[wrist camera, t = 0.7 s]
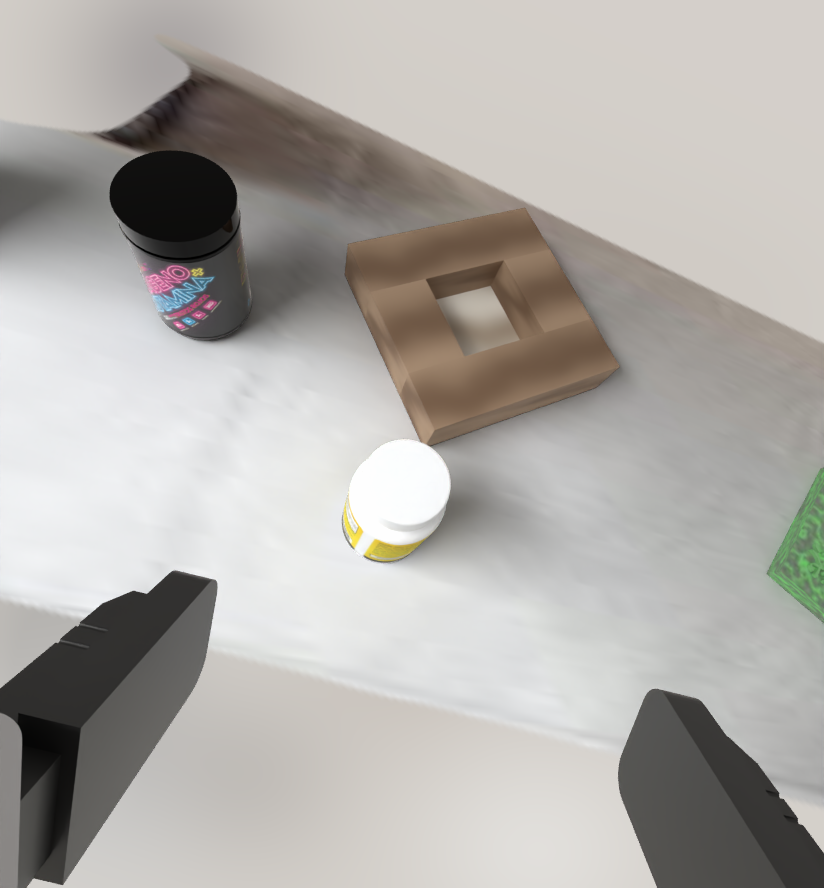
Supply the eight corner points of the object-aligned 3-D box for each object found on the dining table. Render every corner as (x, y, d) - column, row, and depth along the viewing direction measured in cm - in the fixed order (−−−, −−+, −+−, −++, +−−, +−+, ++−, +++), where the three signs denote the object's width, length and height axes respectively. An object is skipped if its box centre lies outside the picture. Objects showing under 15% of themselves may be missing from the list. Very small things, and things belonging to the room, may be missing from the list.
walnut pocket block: (344, 274, 42) (348, 243, 39) (510, 237, 47) (525, 207, 44) (423, 448, 38) (434, 429, 35) (596, 387, 43) (619, 366, 40)
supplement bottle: (437, 519, 36) (481, 476, 27) (388, 581, 34) (418, 558, 25) (375, 468, 37) (399, 411, 28) (323, 527, 34) (330, 485, 26)
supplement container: (143, 284, 38) (90, 164, 29) (231, 258, 41) (210, 139, 31) (178, 357, 37) (134, 256, 27) (268, 326, 39) (257, 223, 30)
